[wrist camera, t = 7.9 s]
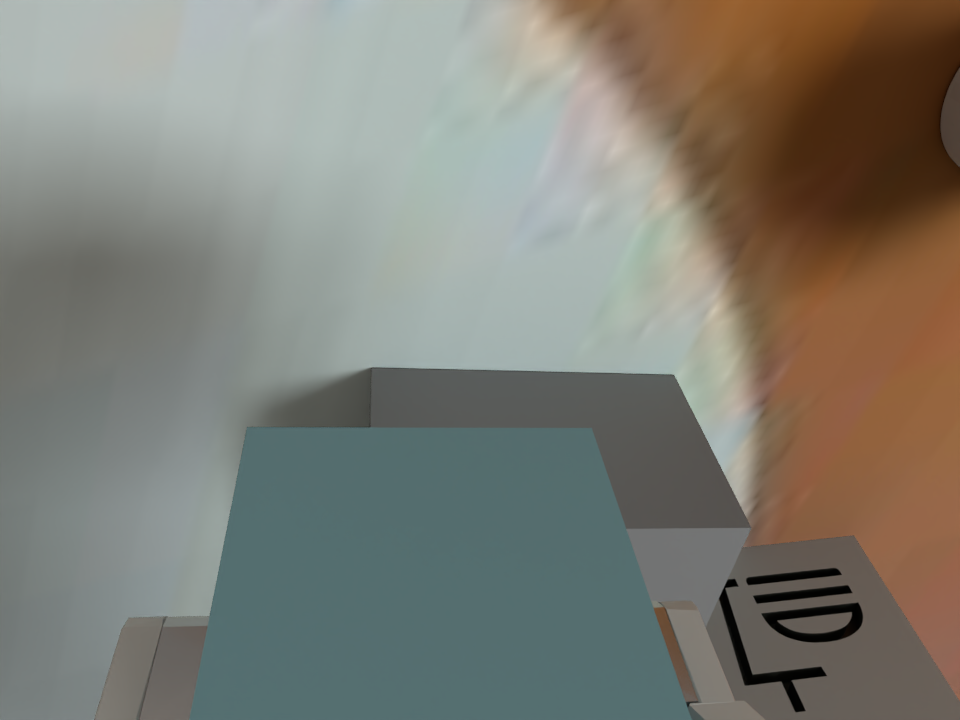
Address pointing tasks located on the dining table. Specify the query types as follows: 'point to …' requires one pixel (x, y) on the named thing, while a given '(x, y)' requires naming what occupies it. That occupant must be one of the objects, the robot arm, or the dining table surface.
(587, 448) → the teal block
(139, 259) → the dining table surface
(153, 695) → the robot arm
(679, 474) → the grey block
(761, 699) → the icon cube
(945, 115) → the coffee cup
